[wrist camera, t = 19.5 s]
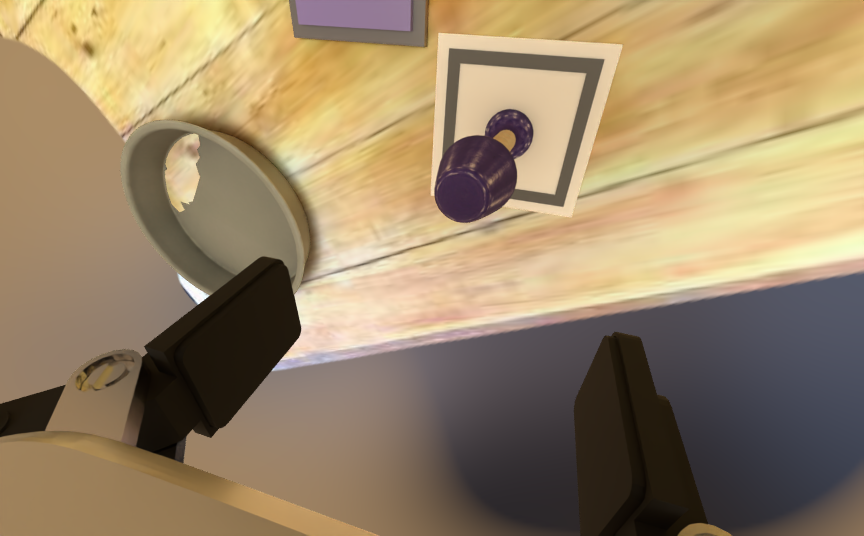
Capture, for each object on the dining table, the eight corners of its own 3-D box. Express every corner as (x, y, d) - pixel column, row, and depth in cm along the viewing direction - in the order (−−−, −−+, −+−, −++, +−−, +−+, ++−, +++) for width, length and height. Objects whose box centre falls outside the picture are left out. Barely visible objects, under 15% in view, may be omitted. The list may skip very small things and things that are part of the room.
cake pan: (294, 112, 36) (265, 121, 33) (339, 301, 50) (323, 322, 46) (117, 112, 43) (77, 120, 39) (200, 280, 56) (175, 297, 52)
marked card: (622, 44, 26) (623, 44, 26) (571, 216, 34) (571, 218, 34) (439, 32, 29) (437, 32, 29) (431, 194, 37) (430, 196, 36)
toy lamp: (471, 124, 32) (400, 188, 19) (516, 88, 29) (469, 132, 16) (502, 167, 33) (456, 257, 20) (547, 136, 30) (528, 215, 17)
